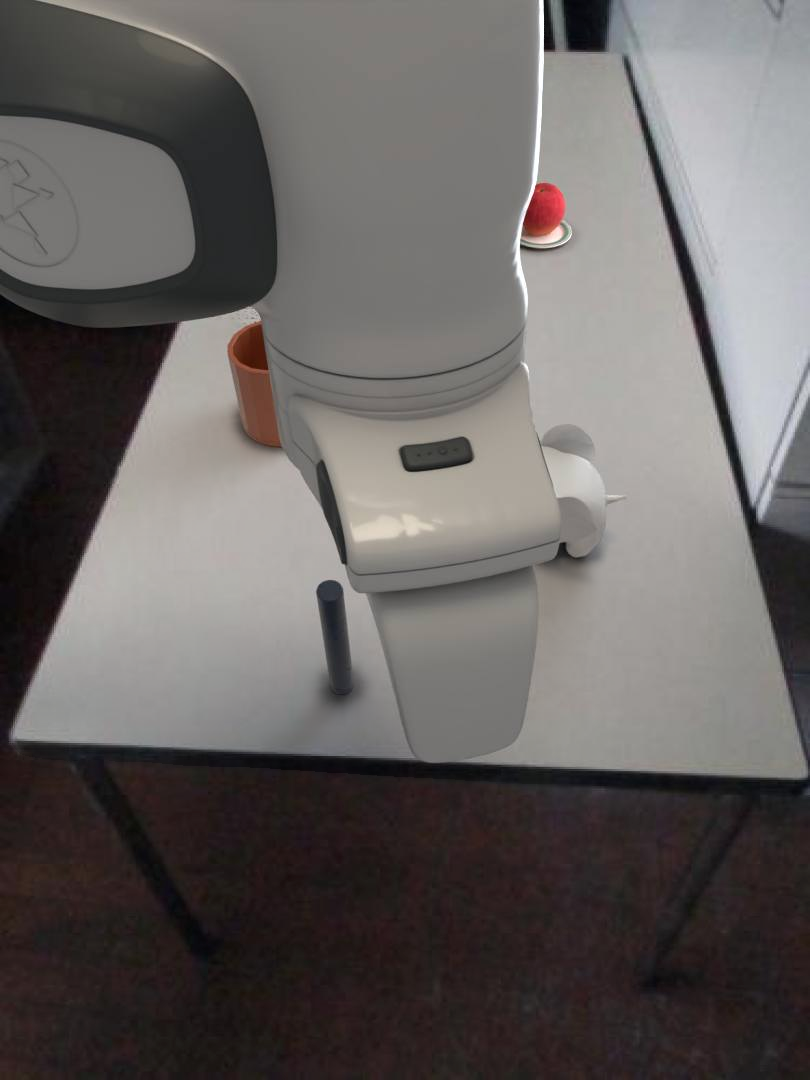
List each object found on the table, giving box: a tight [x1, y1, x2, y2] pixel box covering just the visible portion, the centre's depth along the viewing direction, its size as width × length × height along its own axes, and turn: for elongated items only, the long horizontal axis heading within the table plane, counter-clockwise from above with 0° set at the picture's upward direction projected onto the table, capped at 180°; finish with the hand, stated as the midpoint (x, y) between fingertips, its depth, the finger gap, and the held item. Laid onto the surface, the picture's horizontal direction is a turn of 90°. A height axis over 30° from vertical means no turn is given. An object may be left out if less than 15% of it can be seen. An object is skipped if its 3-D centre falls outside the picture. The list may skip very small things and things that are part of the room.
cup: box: [227, 320, 282, 448], centre depth 82 cm, size 8×8×9 cm
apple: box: [520, 182, 573, 249], centre depth 105 cm, size 8×8×6 cm
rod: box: [315, 579, 355, 695], centre depth 61 cm, size 2×2×12 cm
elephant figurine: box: [540, 423, 627, 558], centre depth 72 cm, size 10×12×9 cm
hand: (409, 644), depth 39 cm, fingers open, 8 cm apart
